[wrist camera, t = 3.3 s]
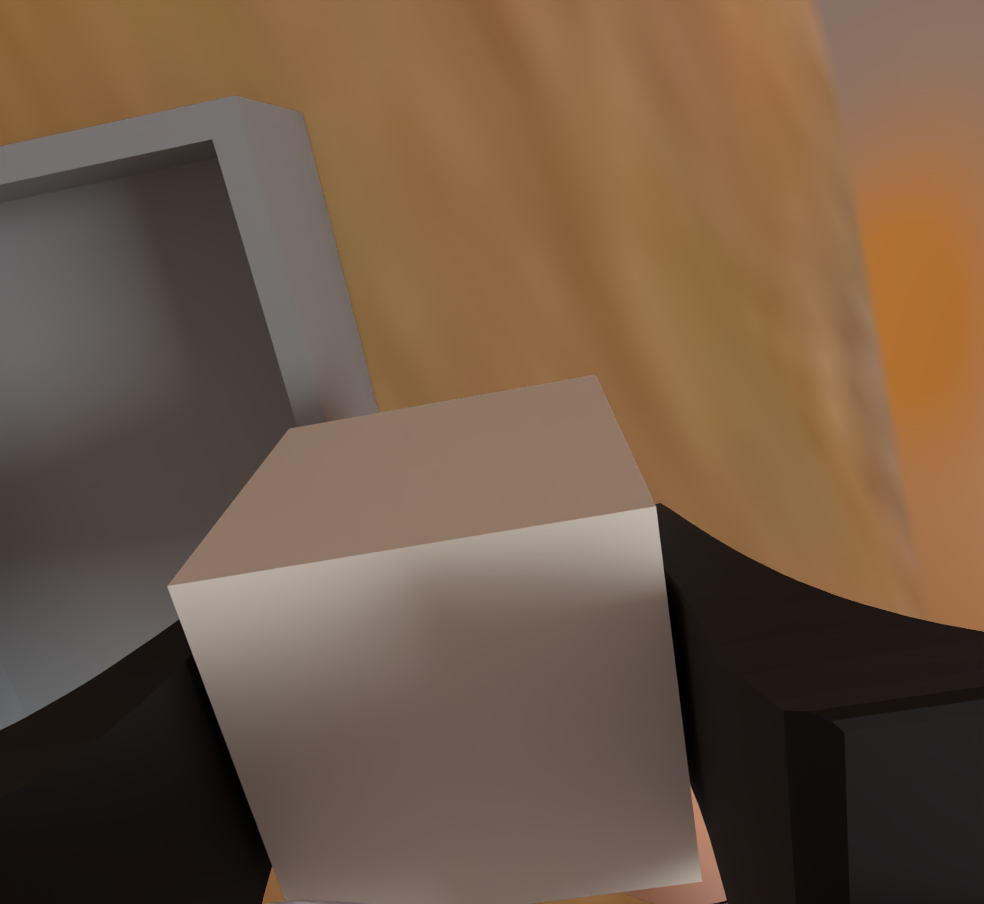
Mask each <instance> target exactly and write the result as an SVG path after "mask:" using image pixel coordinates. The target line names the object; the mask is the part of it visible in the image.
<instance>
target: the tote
mask: <svg viewBox="0 0 984 904" xmlns="http://www.w3.org/2000/svg"><path fill="white" fill-rule="evenodd" d="M375 413H379V412H378V408H377V404H376V400H375V396H374V392H373V388H372V384H371V380H370V377H369V373H368V369H367V365H366V361H365V357H364V353H363V349H362V345H361V341H360V337H359V334H358V330H357V326H356V322H355V318H354V314H353V310H352V306H351V302H350V298H349V294H348V290H347V287H346V283H345V279H344V275H343V271H342V267H341V263H340V259H339V255H338V251H337V247H336V243H335V240H334V236H333V232H332V228H331V224H330V220H329V216H328V212H327V208H326V204H325V200H324V197H323V193H322V189H321V185H320V181H319V177H318V173H317V169H316V165H315V161H314V157H313V153H312V150H311V146H310V142H309V138H308V134H307V130H306V126H305V122H304V118H303V114H302V112H299V111H295V110H291V109H287V108H283V107H279V106H275V105H271V104H267V103H263V102H259V101H255V100H251V99H247V98H243V97H239V96H230V97H225V98H221V99H216V100H212V101H207V102H203V103H198V104H193V105H189V106H184V107H180V108H175V109H170V110H166V111H161V112H157V113H152V114H147V115H143V116H138V117H134V118H129V119H125V120H120V121H115V122H111V123H106V124H102V125H97V126H92V127H88V128H83V129H79V130H74V131H70V132H65V133H60V134H56V135H51V136H47V137H42V138H37V139H33V140H28V141H24V142H19V143H14V144H10V145H5V146H1V147H0V730H1V729H3V728H6V727H8V726H10V725H12V724H14V723H16V722H18V721H20V720H21V719H23V718H25V717H27V716H29V715H31V714H33V713H34V712H36V711H38V710H40V709H41V708H43V707H45V706H47V705H48V704H50V703H52V702H54V701H55V700H57V699H59V698H61V697H63V696H64V695H66V694H68V693H69V692H71V691H73V690H74V689H76V688H78V687H79V686H81V685H83V684H84V683H86V682H88V681H89V680H91V679H92V678H94V677H96V676H97V675H99V674H100V673H102V672H103V671H105V670H106V669H108V668H109V667H111V666H112V665H114V664H115V663H117V662H118V661H120V660H121V659H123V658H124V657H125V656H127V655H128V654H130V653H131V652H133V651H134V650H136V649H137V648H139V647H140V646H142V645H143V644H145V643H146V642H148V641H149V640H151V639H152V638H154V637H155V636H156V635H158V634H159V633H161V632H162V631H163V630H165V629H166V628H168V627H169V626H170V625H172V624H173V623H174V622H176V621H177V620H179V617H178V614H177V611H176V609H175V606H174V603H173V601H172V598H171V595H170V593H169V590H168V587H167V586H168V585H169V583H170V582H171V581H172V579H173V578H174V577H175V575H176V574H177V573H178V572H179V570H180V569H181V568H182V566H183V565H184V564H185V563H186V561H187V560H188V559H189V557H190V556H191V555H192V554H193V552H194V551H195V550H196V548H197V547H198V546H199V544H200V543H201V542H202V541H203V539H204V538H205V537H206V535H207V534H208V533H209V532H210V530H211V529H212V528H213V526H214V525H215V524H216V522H217V521H218V520H219V519H220V517H221V516H222V515H223V513H224V512H225V511H226V510H227V508H228V507H229V506H230V504H231V503H232V502H233V501H234V499H235V498H236V497H237V495H238V494H239V493H240V491H241V490H242V489H243V488H244V486H245V485H246V484H247V482H248V481H249V480H250V479H251V477H252V476H253V475H254V473H255V472H256V471H257V469H258V468H259V467H260V466H261V464H262V463H263V462H264V460H265V459H266V458H267V457H268V455H269V454H270V453H271V451H272V450H273V449H274V448H275V446H276V445H277V444H278V442H279V441H280V440H281V438H282V437H283V436H284V435H285V433H286V432H287V431H288V429H290V428H295V427H301V426H307V425H312V424H318V423H324V422H329V421H335V420H341V419H347V418H352V417H358V416H364V415H369V414H375Z"/></svg>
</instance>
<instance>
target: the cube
mask: <svg viewBox="0 0 984 904" xmlns="http://www.w3.org/2000/svg"><path fill="white" fill-rule="evenodd" d="M167 587H168V590H169V593H170V595H171V598H172V601H173V603H174V606H175V609H176V611H177V614H178V617H179V619H180V622H181V625H182V627H183V630H184V633H185V635H186V638H187V640H188V643H189V646H190V648H191V651H192V654H193V656H194V659H195V662H196V664H197V667H198V670H199V672H200V675H201V678H202V680H203V683H204V686H205V688H206V691H207V694H208V696H209V699H210V702H211V704H212V707H213V710H214V712H215V715H216V718H217V720H218V723H219V726H220V728H221V731H222V734H223V736H224V739H225V742H226V744H227V747H228V750H229V752H230V755H231V758H232V760H233V763H234V766H235V768H236V771H237V774H238V776H239V779H240V782H241V784H242V787H243V790H244V792H245V795H246V797H247V800H248V803H249V805H250V808H251V811H252V813H253V816H254V819H255V821H256V824H257V827H258V829H259V832H260V835H261V837H262V840H263V843H264V845H265V848H266V851H267V853H268V856H269V859H270V861H271V864H272V867H273V869H274V872H275V875H276V877H277V880H278V883H279V885H280V888H281V891H282V893H283V896H284V899H285V901H292V900H299V899H311V900H326V901H342V902H357V903H373V904H534V903H542V902H550V901H557V900H565V899H573V898H580V897H588V896H596V895H603V894H611V893H619V892H627V891H634V890H642V889H650V888H657V887H665V886H673V885H680V884H688V883H696V882H702V878H701V870H700V862H699V854H698V845H697V837H696V829H695V821H694V813H693V804H692V796H691V788H690V780H689V772H688V764H687V755H686V747H685V739H684V731H683V723H682V714H681V706H680V698H679V690H678V682H677V674H676V665H675V657H674V649H673V641H672V633H671V624H670V616H669V608H668V600H667V592H666V584H665V575H664V567H663V559H662V551H661V543H660V534H659V526H658V518H657V510H656V505H655V503H654V501H653V499H652V496H651V494H650V492H649V490H648V488H647V485H646V483H645V481H644V479H643V477H642V475H641V472H640V470H639V468H638V466H637V464H636V462H635V459H634V457H633V455H632V453H631V451H630V448H629V446H628V444H627V442H626V440H625V438H624V435H623V433H622V431H621V429H620V427H619V425H618V422H617V420H616V418H615V416H614V414H613V411H612V409H611V407H610V405H609V403H608V401H607V398H606V396H605V394H604V392H603V390H602V388H601V385H600V383H599V381H598V379H597V377H596V375H590V376H585V377H579V378H573V379H568V380H562V381H556V382H551V383H545V384H539V385H534V386H528V387H522V388H517V389H511V390H505V391H500V392H494V393H488V394H483V395H477V396H471V397H466V398H460V399H454V400H449V401H443V402H437V403H432V404H426V405H420V406H415V407H409V408H403V409H398V410H392V411H386V412H381V413H375V414H369V415H364V416H358V417H352V418H347V419H341V420H335V421H329V422H324V423H318V424H312V425H307V426H301V427H295V428H290V429H288V431H287V432H286V433H285V435H284V436H283V437H282V438H281V440H280V441H279V442H278V444H277V445H276V446H275V448H274V449H273V450H272V451H271V453H270V454H269V455H268V457H267V458H266V459H265V460H264V462H263V463H262V464H261V466H260V467H259V468H258V469H257V471H256V472H255V473H254V475H253V476H252V477H251V479H250V480H249V481H248V482H247V484H246V485H245V486H244V488H243V489H242V490H241V491H240V493H239V494H238V495H237V497H236V498H235V499H234V501H233V502H232V503H231V504H230V506H229V507H228V508H227V510H226V511H225V512H224V513H223V515H222V516H221V517H220V519H219V520H218V521H217V522H216V524H215V525H214V526H213V528H212V529H211V530H210V532H209V533H208V534H207V535H206V537H205V538H204V539H203V541H202V542H201V543H200V544H199V546H198V547H197V548H196V550H195V551H194V552H193V554H192V555H191V556H190V557H189V559H188V560H187V561H186V563H185V564H184V565H183V566H182V568H181V569H180V570H179V572H178V573H177V574H176V575H175V577H174V578H173V579H172V581H171V582H170V583H169V585H168V586H167Z"/></svg>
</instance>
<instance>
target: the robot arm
mask: <svg viewBox="0 0 984 904" xmlns="http://www.w3.org/2000/svg"><path fill="white" fill-rule="evenodd" d="M655 505H656V510H657V518H658V526H659V534H660V543H661V551H662V559H663V567H664V575H665V584H666V592H667V600H668V608H669V616H670V624H671V633H672V641H673V649H674V657H675V665H676V674H677V682H678V690H679V698H680V706H681V714H682V723H683V731H684V739H685V747H686V755H687V764H688V772H689V780H690V785H691V788H692V790H693V793H694V795H695V798H696V801H697V803H698V806H699V809H700V811H701V814H702V817H703V820H704V823H705V826H706V829H707V832H708V835H709V838H710V842H711V845H712V849H713V852H714V856H715V859H716V863H717V867H718V870H719V874H720V877H721V881H722V884H723V888H724V891H725V895H726V899H727V902H728V903H725V904H984V632H982V631H977V630H971V629H966V628H960V627H954V626H949V625H943V624H939V623H934V622H930V621H925V620H921V619H916V618H912V617H908V616H904V615H900V614H896V613H893V612H889V611H886V610H882V609H878V608H875V607H871V606H868V605H864V604H860V603H857V602H854V601H851V600H848V599H845V598H842V597H839V596H836V595H833V594H831V593H828V592H825V591H823V590H820V589H818V588H815V587H812V586H810V585H807V584H805V583H802V582H799V581H797V580H795V579H792V578H790V577H788V576H785V575H783V574H781V573H779V572H777V571H775V570H773V569H771V568H769V567H767V566H765V565H763V564H761V563H759V562H757V561H755V560H753V559H751V558H749V557H747V556H745V555H743V554H741V553H740V552H738V551H736V550H734V549H732V548H731V547H729V546H727V545H725V544H724V543H722V542H720V541H719V540H717V539H715V538H714V537H712V536H710V535H709V534H707V533H706V532H704V531H702V530H701V529H699V528H698V527H696V526H695V525H693V524H692V523H690V522H689V521H687V520H686V519H684V518H683V517H681V516H680V515H678V514H677V513H675V512H674V511H672V510H671V509H669V508H668V507H666V506H664V505H663V504H661V503H660V504H655ZM271 868H272V864H271V861H270V859H269V856H268V853H267V851H266V848H265V845H264V843H263V840H262V837H261V835H260V832H259V829H258V827H257V824H256V821H255V819H254V816H253V813H252V811H251V808H250V805H249V803H248V800H247V797H246V795H245V792H244V790H243V787H242V784H241V782H240V779H239V776H238V774H237V771H236V768H235V766H234V763H233V760H232V758H231V755H230V752H229V750H228V747H227V744H226V742H225V739H224V736H223V734H222V731H221V728H220V726H219V723H218V720H217V718H216V715H215V712H214V710H213V707H212V704H211V702H210V699H209V696H208V694H207V691H206V688H205V686H204V683H203V680H202V678H201V675H200V672H199V670H198V667H197V664H196V662H195V659H194V656H193V654H192V651H191V648H190V646H189V643H188V640H187V638H186V635H185V633H184V630H183V627H182V625H181V622H180V619H179V620H177V621H176V622H174V623H173V624H172V625H170V626H169V627H168V628H166V629H165V630H163V631H162V632H161V633H159V634H158V635H156V636H155V637H154V638H152V639H151V640H149V641H148V642H146V643H145V644H143V645H142V646H140V647H139V648H137V649H136V650H134V651H133V652H131V653H130V654H128V655H127V656H125V657H124V658H123V659H121V660H120V661H118V662H117V663H115V664H114V665H112V666H111V667H109V668H108V669H106V670H105V671H103V672H102V673H100V674H99V675H97V676H96V677H94V678H92V679H91V680H89V681H88V682H86V683H84V684H83V685H81V686H79V687H78V688H76V689H74V690H73V691H71V692H69V693H68V694H66V695H64V696H63V697H61V698H59V699H57V700H55V701H54V702H52V703H50V704H48V705H47V706H45V707H43V708H41V709H40V710H38V711H36V712H34V713H33V714H31V715H29V716H27V717H25V718H23V719H21V720H20V721H18V722H16V723H14V724H12V725H10V726H8V727H6V728H3V729H1V730H0V904H262V901H263V897H264V893H265V889H266V886H267V882H268V878H269V875H270V871H271ZM269 904H373V903H357V902H342V901H326V900H311V899H299V900H292V901H284V902H276V903H269Z"/></svg>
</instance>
